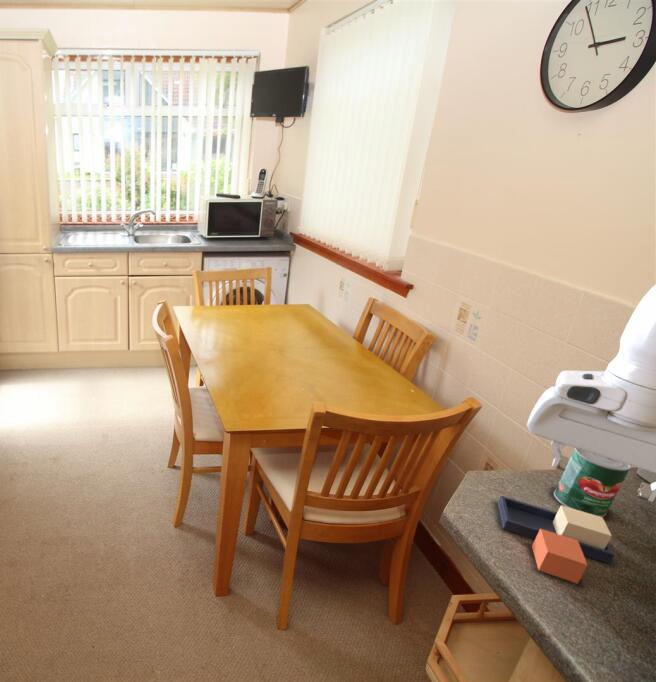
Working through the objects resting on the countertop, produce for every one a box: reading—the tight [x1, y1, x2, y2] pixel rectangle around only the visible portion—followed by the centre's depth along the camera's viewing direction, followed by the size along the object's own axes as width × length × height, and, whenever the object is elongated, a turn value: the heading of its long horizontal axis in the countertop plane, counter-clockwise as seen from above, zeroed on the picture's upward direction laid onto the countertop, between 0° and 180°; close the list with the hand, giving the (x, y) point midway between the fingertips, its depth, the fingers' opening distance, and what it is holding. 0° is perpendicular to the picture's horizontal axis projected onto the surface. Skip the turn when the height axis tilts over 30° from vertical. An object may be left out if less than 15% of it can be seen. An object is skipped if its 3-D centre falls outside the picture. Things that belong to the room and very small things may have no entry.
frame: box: [497, 495, 615, 565], centre depth 84 cm, size 15×8×2 cm, turn 61°
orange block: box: [531, 529, 589, 585], centre depth 77 cm, size 6×5×4 cm
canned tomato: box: [553, 447, 632, 518], centre depth 90 cm, size 8×8×11 cm
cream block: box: [553, 504, 613, 549], centre depth 82 cm, size 6×5×4 cm
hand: (599, 482), depth 69 cm, fingers open, 8 cm apart
